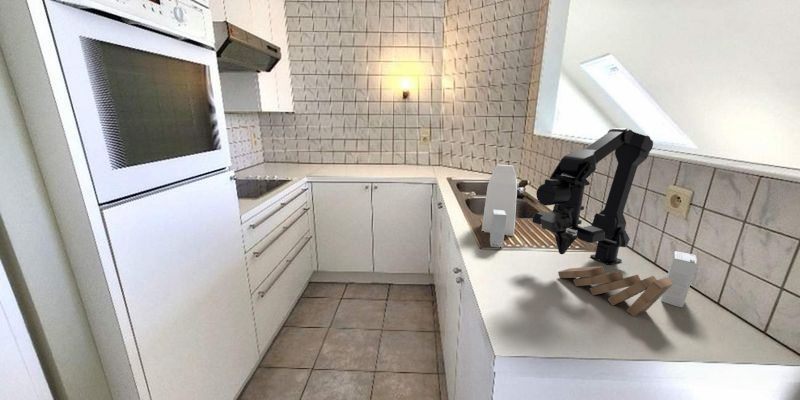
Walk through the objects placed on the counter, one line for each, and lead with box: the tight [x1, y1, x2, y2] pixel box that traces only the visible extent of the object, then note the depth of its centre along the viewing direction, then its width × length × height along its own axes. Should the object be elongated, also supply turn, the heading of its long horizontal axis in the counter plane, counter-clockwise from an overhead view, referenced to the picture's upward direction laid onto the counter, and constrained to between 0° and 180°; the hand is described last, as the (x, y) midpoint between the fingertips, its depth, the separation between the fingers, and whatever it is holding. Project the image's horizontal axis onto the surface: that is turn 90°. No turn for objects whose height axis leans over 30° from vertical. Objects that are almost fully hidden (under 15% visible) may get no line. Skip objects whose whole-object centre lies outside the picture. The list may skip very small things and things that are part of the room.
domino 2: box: [573, 270, 624, 287], centre depth 82 cm, size 5×2×10 cm
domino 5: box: [626, 276, 674, 318], centre depth 71 cm, size 5×2×10 cm, turn 116°
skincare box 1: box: [489, 210, 507, 248], centre depth 111 cm, size 6×4×12 cm
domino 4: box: [607, 275, 658, 307], centre depth 75 cm, size 5×2×10 cm
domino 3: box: [589, 274, 642, 296], centre depth 78 cm, size 5×2×10 cm
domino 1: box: [557, 266, 606, 279], centre depth 86 cm, size 5×2×10 cm
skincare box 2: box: [660, 250, 698, 308], centre depth 78 cm, size 6×4×12 cm
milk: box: [481, 164, 518, 237], centre depth 125 cm, size 12×12×26 cm
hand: (561, 253), depth 91 cm, fingers closed
